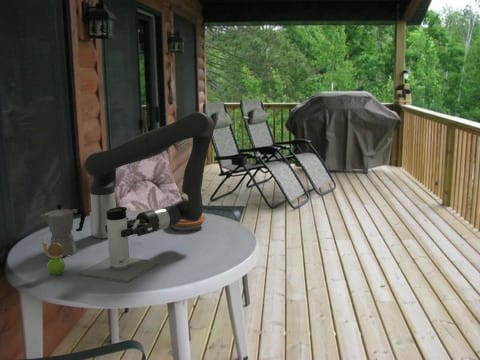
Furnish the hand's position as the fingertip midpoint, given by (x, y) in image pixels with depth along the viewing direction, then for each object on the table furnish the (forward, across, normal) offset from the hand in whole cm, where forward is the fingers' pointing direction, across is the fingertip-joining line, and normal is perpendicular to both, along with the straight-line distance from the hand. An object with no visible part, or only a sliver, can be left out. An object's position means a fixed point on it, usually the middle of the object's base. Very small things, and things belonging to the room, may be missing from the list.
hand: (113, 231), depth 174 cm
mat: (-1, 0, +13) cm, 13 cm away
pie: (-48, -18, +13) cm, 53 cm away
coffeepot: (+1, -28, +13) cm, 31 cm away
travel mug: (-2, 0, +12) cm, 13 cm away
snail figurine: (+15, -12, +13) cm, 23 cm away
